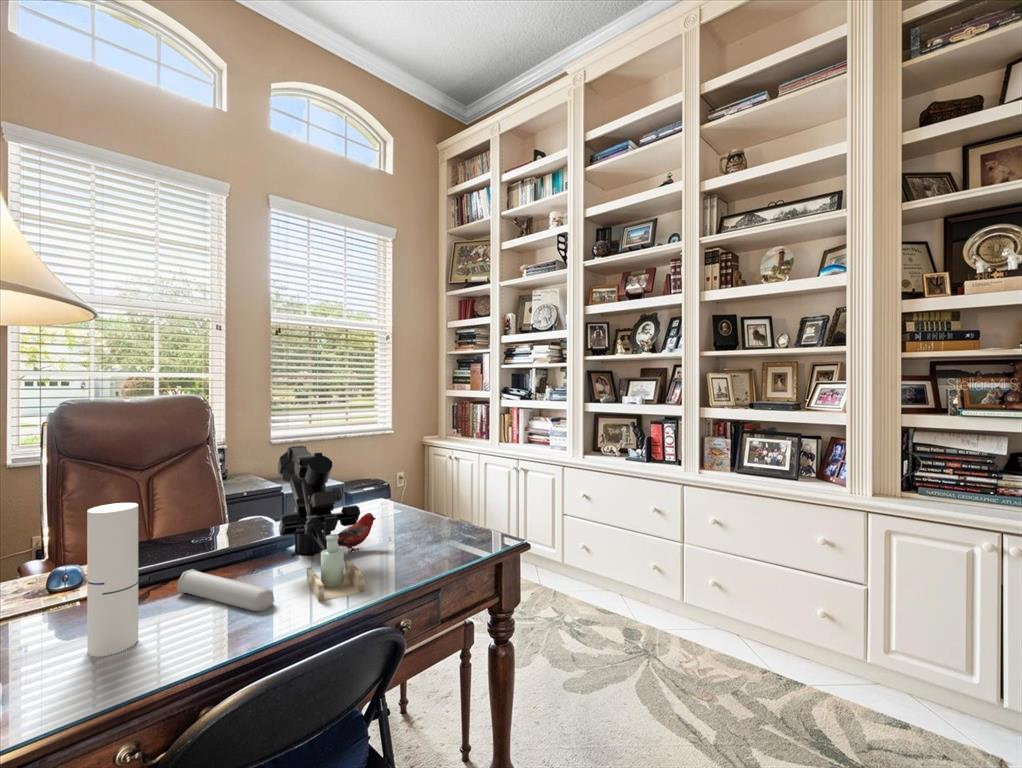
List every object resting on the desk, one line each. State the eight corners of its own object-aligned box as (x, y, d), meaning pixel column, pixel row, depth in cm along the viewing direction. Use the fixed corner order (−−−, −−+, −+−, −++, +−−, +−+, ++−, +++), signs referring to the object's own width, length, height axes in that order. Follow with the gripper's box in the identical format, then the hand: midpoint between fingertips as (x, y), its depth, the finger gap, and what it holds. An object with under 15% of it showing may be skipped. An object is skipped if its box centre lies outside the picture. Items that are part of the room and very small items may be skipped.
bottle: (316, 586, 113) (316, 538, 113) (328, 578, 118) (328, 532, 118) (336, 588, 112) (336, 540, 112) (347, 579, 117) (347, 533, 117)
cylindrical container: (107, 636, 92) (106, 503, 92) (147, 634, 93) (147, 502, 92) (76, 657, 85) (76, 513, 85) (120, 655, 86) (120, 512, 85)
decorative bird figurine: (378, 546, 142) (378, 512, 142) (320, 563, 129) (320, 525, 129) (373, 544, 144) (373, 510, 144) (315, 560, 131) (315, 523, 131)
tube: (282, 587, 105) (202, 568, 115) (262, 588, 100) (181, 569, 110) (275, 614, 104) (195, 593, 113) (254, 617, 99) (173, 594, 109)
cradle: (306, 585, 115) (306, 568, 115) (349, 575, 121) (349, 559, 121) (318, 604, 105) (318, 585, 105) (364, 593, 111) (364, 575, 111)
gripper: (281, 482, 119) (289, 539, 110) (358, 474, 129) (371, 526, 120) (275, 507, 125) (283, 564, 116) (349, 498, 136) (361, 549, 127)
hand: (326, 550), depth 120 cm, fingers closed
